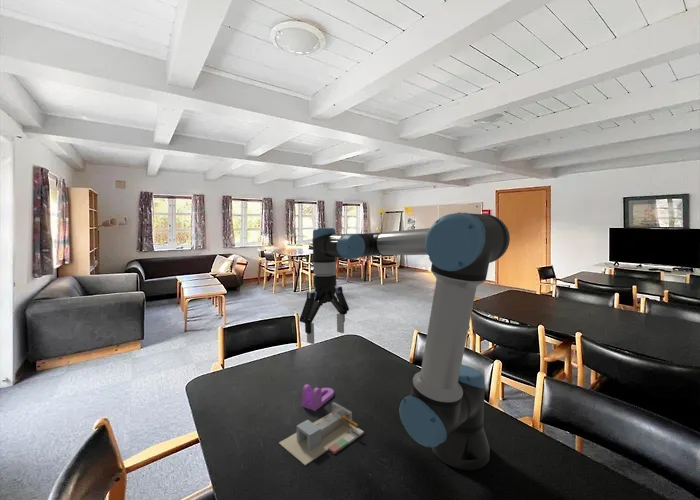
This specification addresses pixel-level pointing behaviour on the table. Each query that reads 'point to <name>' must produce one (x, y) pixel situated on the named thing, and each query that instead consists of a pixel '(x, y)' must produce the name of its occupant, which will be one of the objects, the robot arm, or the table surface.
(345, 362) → the table surface
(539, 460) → the table surface
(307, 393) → the bracket
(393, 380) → the table surface
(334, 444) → the beige mechanism board
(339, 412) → the grey sliding clamp
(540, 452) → the table surface
